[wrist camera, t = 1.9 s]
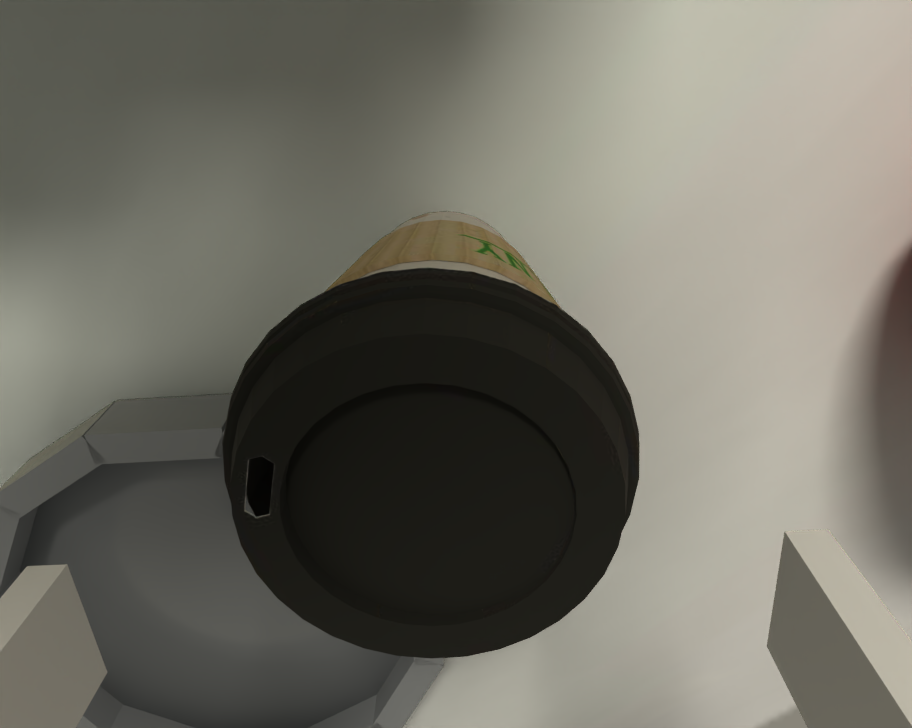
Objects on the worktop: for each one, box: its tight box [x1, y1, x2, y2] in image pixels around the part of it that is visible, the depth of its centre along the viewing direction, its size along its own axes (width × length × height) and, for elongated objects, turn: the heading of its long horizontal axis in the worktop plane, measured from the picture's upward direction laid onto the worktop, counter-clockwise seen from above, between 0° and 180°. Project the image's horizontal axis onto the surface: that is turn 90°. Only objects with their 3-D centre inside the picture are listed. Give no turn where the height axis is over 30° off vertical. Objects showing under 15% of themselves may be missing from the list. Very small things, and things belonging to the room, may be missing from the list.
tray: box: [0, 394, 444, 728], centre depth 34 cm, size 21×21×3 cm
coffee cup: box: [222, 211, 639, 659], centre depth 22 cm, size 10×10×15 cm
